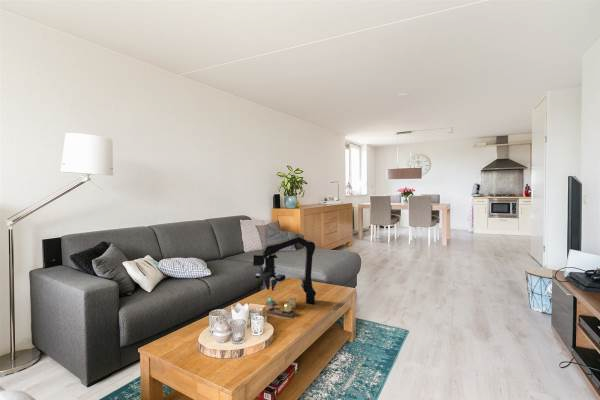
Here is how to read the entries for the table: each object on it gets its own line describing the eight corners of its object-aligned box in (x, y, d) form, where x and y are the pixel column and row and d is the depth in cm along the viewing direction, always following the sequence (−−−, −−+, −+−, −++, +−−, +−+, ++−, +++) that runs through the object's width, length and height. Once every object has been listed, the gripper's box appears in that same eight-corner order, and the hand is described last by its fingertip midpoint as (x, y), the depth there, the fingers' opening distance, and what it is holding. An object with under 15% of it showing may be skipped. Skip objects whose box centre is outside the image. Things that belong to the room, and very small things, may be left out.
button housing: (269, 304, 195) (269, 299, 195) (275, 305, 193) (275, 300, 193) (265, 307, 191) (265, 302, 191) (271, 308, 189) (271, 303, 189)
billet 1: (286, 312, 179) (286, 302, 178) (292, 314, 177) (292, 303, 177) (283, 315, 175) (282, 304, 175) (289, 316, 173) (289, 306, 173)
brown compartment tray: (273, 309, 187) (273, 305, 187) (298, 314, 179) (298, 309, 179) (263, 316, 177) (263, 311, 177) (289, 321, 169) (289, 316, 169)
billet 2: (291, 306, 190) (291, 297, 190) (297, 307, 188) (296, 298, 188) (288, 309, 186) (287, 299, 186) (293, 310, 184) (293, 300, 184)
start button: (270, 302, 194) (270, 297, 194) (273, 302, 193) (273, 298, 193) (267, 303, 192) (267, 298, 192) (271, 304, 190) (271, 299, 190)
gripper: (249, 266, 189) (250, 292, 189) (276, 269, 180) (276, 296, 181) (260, 262, 199) (260, 287, 199) (285, 265, 190) (286, 290, 191)
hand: (270, 290), depth 192 cm, fingers open, 3 cm apart
